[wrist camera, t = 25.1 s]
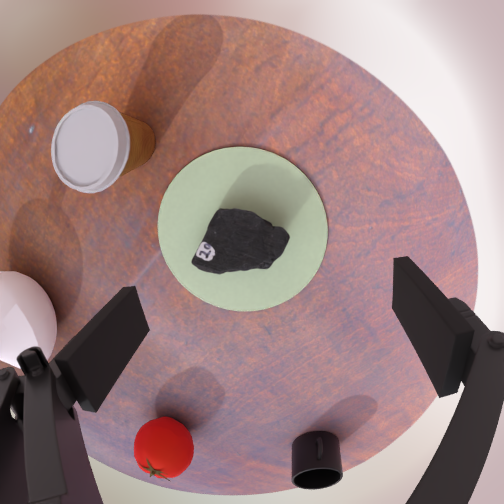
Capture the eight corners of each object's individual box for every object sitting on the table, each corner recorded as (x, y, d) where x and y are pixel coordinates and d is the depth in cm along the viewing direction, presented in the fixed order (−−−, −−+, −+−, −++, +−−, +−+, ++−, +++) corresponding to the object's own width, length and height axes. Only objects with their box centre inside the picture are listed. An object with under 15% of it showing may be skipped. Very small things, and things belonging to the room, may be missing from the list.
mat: (317, 136, 35) (317, 136, 35) (331, 301, 42) (332, 303, 42) (144, 163, 38) (142, 164, 37) (178, 314, 45) (178, 316, 45)
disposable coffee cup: (123, 97, 35) (69, 87, 24) (180, 127, 36) (139, 123, 25) (93, 159, 38) (37, 170, 27) (146, 191, 39) (99, 212, 28)
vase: (2, 244, 44) (-70, 285, 27) (72, 279, 45) (-3, 341, 27) (9, 320, 51) (-45, 368, 33) (73, 358, 51) (21, 422, 33)
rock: (193, 258, 41) (181, 276, 36) (225, 189, 38) (217, 197, 32) (254, 288, 42) (250, 310, 36) (291, 222, 39) (293, 236, 33)
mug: (343, 421, 50) (349, 458, 42) (335, 454, 54) (338, 487, 46) (293, 423, 51) (293, 461, 43) (291, 456, 55) (290, 490, 47)
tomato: (150, 434, 57) (131, 480, 45) (141, 398, 53) (117, 449, 40) (201, 445, 56) (188, 495, 44) (199, 411, 52) (183, 467, 40)
